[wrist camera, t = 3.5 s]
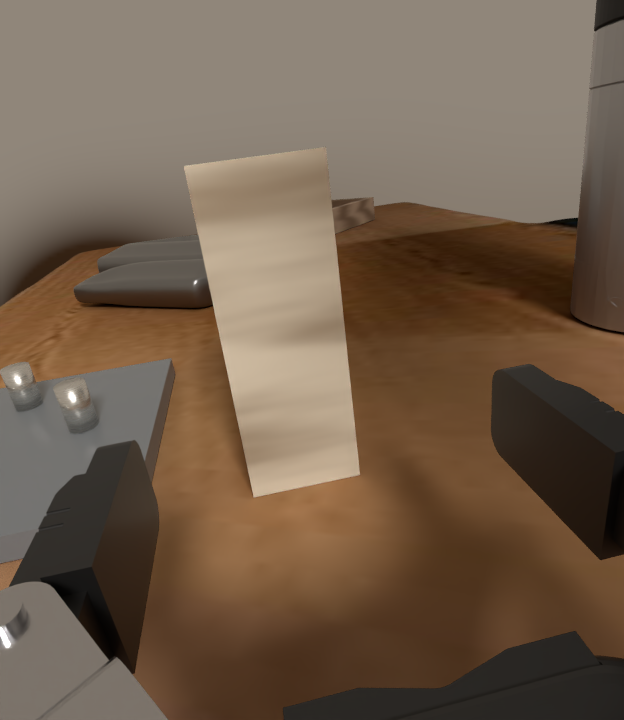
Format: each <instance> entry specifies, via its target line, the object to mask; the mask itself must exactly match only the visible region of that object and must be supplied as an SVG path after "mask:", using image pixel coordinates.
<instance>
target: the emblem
mask: <svg viewBox="0 0 624 720" xmlns="http://www.w3.org/2000/svg"><path fill="white" fill-rule="evenodd" d="M98 269H99V274H97V275H94V276H92V277H90V278H88V279H87V280H85V281H83V282H81V283H80V284H78V285H77V286H75V287H74V294H75V297H76V299H77V300H78V301H79V302H83V303H107V304H118V305H128V306H148V307H183V308H201V307H206V306H210V305H213V302H212V297H211V292H210V288H209V283H208V278H207V273H206V269H205V264H204V259H203V255H202V250H201V245H200V240H199V236H198V235H190V236H183V237H176V238H168V239H161V240H154V241H146V242H138V243H132V244H126V245H124V246H122V247H120V248H118V249H116V250H114V251H113V252H111V253H109V254H107V255H105V256H103V257H101V258H99V259H98Z"/></svg>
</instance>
